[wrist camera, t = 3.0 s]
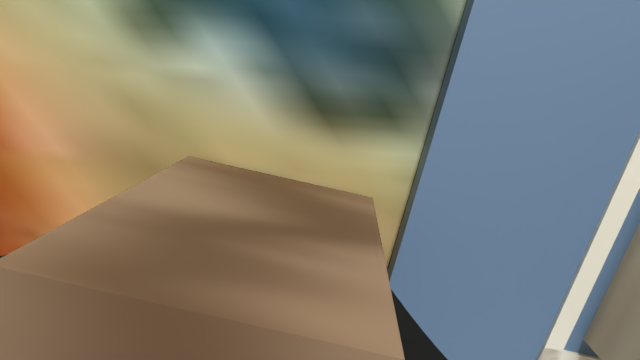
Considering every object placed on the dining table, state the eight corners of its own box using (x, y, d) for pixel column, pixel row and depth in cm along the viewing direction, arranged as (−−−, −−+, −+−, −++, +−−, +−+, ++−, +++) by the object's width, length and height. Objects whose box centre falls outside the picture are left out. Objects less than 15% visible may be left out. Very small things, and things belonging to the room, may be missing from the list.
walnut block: (372, 197, 10) (404, 359, 5) (331, 351, 12) (316, 625, 6) (188, 156, 10) (-12, 265, 5) (169, 314, 12) (-4, 552, 6)
